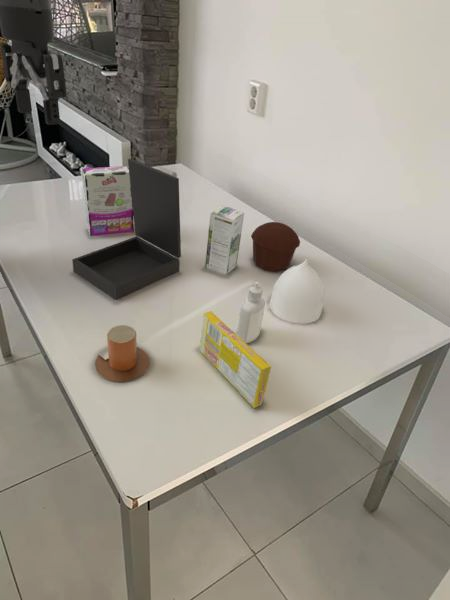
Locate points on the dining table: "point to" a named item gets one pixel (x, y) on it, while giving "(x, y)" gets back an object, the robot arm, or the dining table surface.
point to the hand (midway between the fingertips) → (38, 118)
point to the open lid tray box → (125, 267)
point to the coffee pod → (122, 347)
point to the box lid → (156, 206)
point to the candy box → (234, 359)
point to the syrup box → (224, 239)
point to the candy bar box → (108, 200)
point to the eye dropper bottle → (251, 315)
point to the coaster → (123, 376)
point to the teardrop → (298, 295)
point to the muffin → (274, 246)
